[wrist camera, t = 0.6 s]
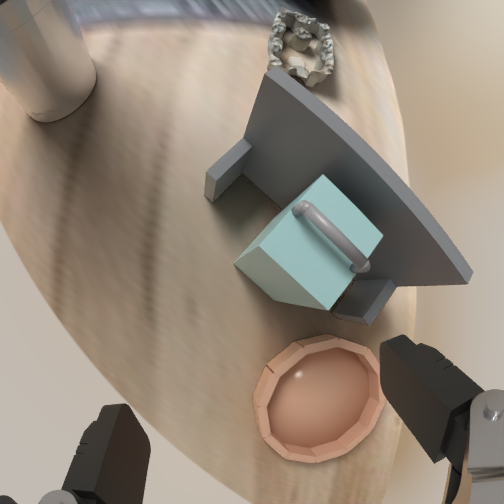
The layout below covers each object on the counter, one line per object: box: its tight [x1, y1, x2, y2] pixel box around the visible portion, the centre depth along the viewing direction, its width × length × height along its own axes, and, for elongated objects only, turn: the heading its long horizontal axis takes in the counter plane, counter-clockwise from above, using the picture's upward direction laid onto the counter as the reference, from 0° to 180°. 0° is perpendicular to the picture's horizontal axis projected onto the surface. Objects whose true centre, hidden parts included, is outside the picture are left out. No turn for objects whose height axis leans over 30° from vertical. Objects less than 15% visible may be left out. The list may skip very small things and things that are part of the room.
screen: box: [204, 66, 473, 325], centre depth 21 cm, size 5×17×14 cm, turn 48°
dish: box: [253, 334, 386, 464], centre depth 26 cm, size 13×13×2 cm
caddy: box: [233, 174, 383, 311], centre depth 21 cm, size 6×5×14 cm
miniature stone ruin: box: [267, 7, 334, 87], centre depth 29 cm, size 11×8×4 cm
